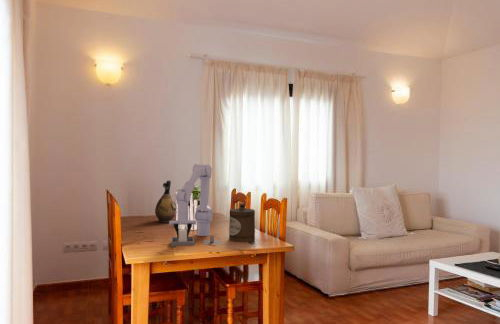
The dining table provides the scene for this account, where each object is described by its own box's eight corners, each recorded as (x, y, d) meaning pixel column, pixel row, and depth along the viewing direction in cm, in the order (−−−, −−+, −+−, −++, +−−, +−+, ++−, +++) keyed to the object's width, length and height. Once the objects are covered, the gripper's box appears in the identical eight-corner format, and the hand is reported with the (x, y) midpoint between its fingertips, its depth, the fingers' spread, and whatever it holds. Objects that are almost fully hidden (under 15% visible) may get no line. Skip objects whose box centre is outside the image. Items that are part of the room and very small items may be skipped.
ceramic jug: (174, 223, 283) (174, 181, 283) (152, 223, 283) (153, 181, 283) (178, 219, 300) (179, 180, 300) (158, 219, 300) (158, 179, 300)
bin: (171, 242, 223) (171, 237, 223) (193, 242, 225) (193, 236, 225) (171, 247, 211) (171, 242, 211) (194, 247, 213) (194, 241, 213)
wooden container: (225, 239, 233) (226, 202, 233) (248, 237, 240) (249, 201, 239) (234, 245, 220) (235, 205, 219) (259, 243, 226) (259, 204, 226)
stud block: (202, 242, 225) (202, 232, 225) (219, 241, 227) (219, 232, 227) (203, 247, 214) (203, 237, 213) (222, 246, 215) (222, 236, 215)
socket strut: (178, 241, 215) (178, 230, 215) (178, 240, 220) (178, 229, 220) (186, 241, 216) (187, 230, 216) (186, 239, 221) (186, 229, 220)
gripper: (169, 214, 213) (169, 239, 213) (196, 213, 215) (196, 238, 216) (169, 212, 219) (169, 236, 220) (196, 212, 222) (195, 236, 223)
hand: (182, 237), depth 218 cm, fingers open, 4 cm apart
